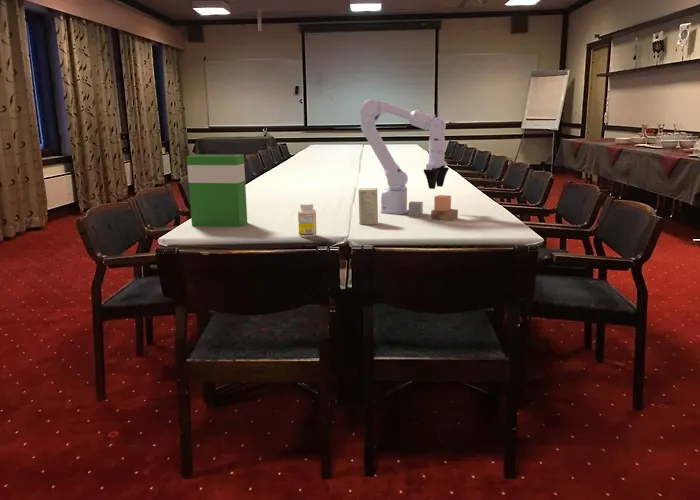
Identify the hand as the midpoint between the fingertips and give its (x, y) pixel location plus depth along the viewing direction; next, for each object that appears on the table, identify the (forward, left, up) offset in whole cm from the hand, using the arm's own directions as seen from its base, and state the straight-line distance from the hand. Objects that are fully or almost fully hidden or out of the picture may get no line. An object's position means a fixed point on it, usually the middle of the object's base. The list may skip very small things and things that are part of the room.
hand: (435, 187), depth 216 cm
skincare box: (-13, -29, -10) cm, 33 cm away
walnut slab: (+7, -9, -10) cm, 15 cm away
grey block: (-5, -7, -10) cm, 13 cm away
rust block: (+6, -9, -7) cm, 13 cm away
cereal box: (-59, -54, -10) cm, 81 cm away
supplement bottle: (-20, -56, -10) cm, 60 cm away
